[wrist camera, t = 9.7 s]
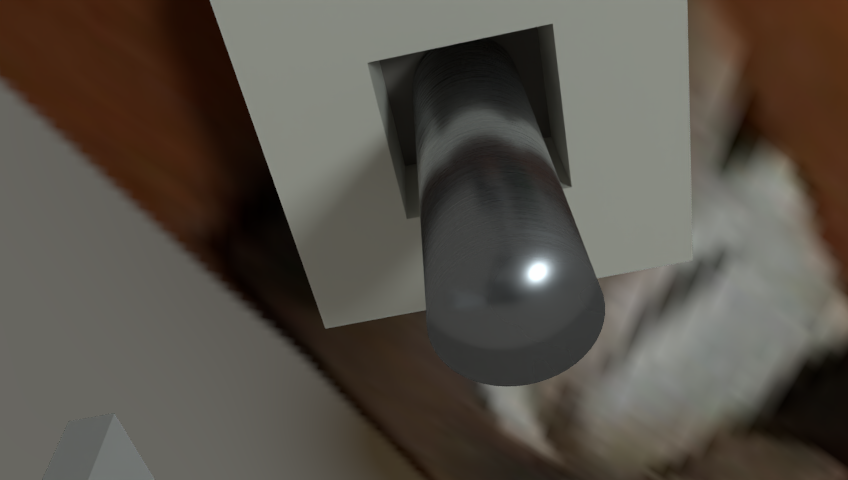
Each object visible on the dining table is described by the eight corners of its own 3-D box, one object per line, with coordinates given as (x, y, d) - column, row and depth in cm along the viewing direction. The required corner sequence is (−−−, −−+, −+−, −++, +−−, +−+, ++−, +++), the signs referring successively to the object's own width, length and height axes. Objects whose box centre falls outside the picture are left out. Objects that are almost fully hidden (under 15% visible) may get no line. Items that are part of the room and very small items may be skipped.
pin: (402, 46, 24) (410, 264, 14) (510, 23, 24) (598, 229, 14) (423, 143, 26) (444, 398, 16) (524, 123, 26) (610, 370, 16)
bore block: (224, -75, 23) (194, -42, 19) (638, -170, 22) (683, -153, 18) (332, 260, 29) (325, 328, 26) (656, 198, 28) (692, 260, 25)
